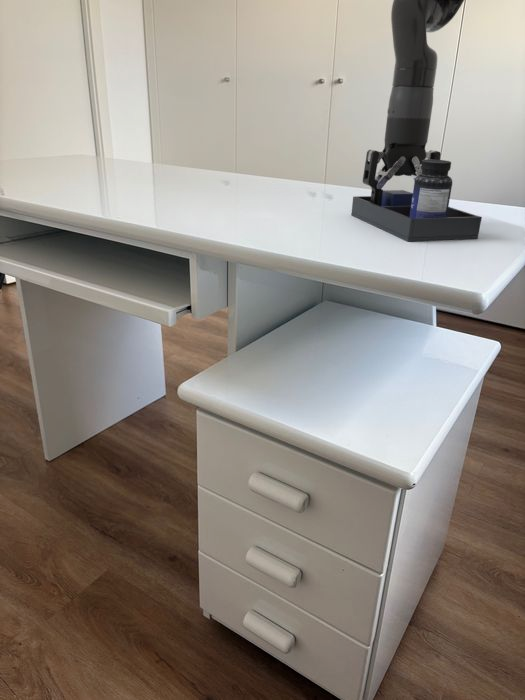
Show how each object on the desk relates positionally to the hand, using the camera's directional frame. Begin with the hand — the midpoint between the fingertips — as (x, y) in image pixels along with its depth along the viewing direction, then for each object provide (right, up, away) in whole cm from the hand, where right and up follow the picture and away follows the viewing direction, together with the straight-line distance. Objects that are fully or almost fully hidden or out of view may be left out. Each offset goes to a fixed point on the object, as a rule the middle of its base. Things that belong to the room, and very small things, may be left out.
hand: (396, 208), depth 101 cm
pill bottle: (+3, -6, -9) cm, 11 cm away
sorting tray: (+1, -4, -4) cm, 6 cm away
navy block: (0, -1, +1) cm, 1 cm away
